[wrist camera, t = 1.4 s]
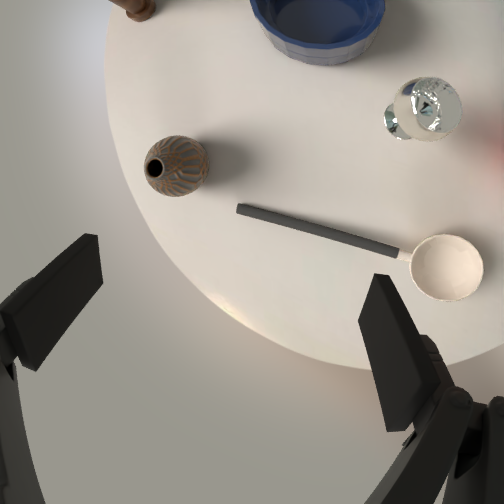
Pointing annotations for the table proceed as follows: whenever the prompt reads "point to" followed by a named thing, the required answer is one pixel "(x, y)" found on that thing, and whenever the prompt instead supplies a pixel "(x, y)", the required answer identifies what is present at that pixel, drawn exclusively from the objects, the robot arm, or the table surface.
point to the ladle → (406, 256)
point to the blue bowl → (320, 27)
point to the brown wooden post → (137, 8)
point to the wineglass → (424, 110)
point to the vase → (176, 166)
